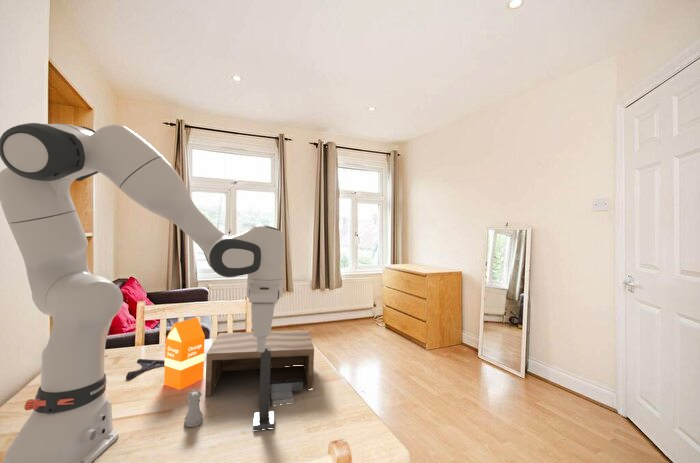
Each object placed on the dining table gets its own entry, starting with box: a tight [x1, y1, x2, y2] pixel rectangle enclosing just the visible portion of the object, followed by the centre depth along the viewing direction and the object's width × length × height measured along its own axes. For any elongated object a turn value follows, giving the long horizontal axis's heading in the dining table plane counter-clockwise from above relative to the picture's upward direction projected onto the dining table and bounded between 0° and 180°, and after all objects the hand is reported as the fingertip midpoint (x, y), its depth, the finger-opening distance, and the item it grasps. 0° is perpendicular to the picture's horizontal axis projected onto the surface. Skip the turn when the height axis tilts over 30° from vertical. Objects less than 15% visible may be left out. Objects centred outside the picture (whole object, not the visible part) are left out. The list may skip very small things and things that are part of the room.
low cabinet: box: [204, 329, 315, 398], centre depth 109 cm, size 20×32×13 cm, turn 102°
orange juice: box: [163, 317, 206, 390], centre depth 106 cm, size 8×9×20 cm
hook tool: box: [252, 348, 304, 431], centre depth 90 cm, size 18×14×20 cm
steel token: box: [270, 391, 295, 407], centre depth 96 cm, size 6×6×2 cm
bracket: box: [125, 358, 165, 381], centre depth 113 cm, size 14×15×3 cm
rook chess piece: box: [183, 389, 204, 428], centre depth 83 cm, size 4×4×8 cm
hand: (262, 344), depth 81 cm, fingers open, 8 cm apart
